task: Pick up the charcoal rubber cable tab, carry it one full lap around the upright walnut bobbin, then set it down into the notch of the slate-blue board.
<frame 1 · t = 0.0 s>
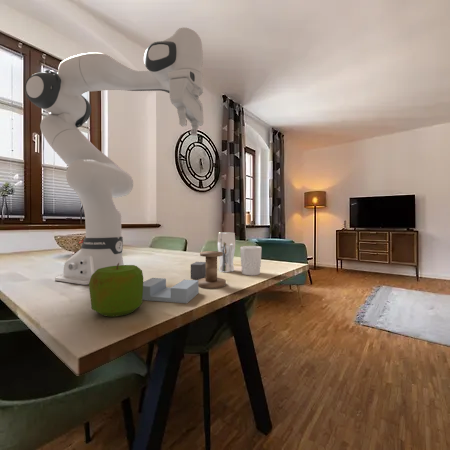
hand: (188, 130, 82), 48 cm above the table, tool pointing down, fingers open, 8 cm apart
white cup: (250, 274, 98), on the table
beer glass: (226, 271, 103), on the table
bobbin: (211, 284, 81), on the table
tab: (199, 277, 92), on the table
apple: (117, 312, 58), on the table
notch board: (168, 295, 69), on the table
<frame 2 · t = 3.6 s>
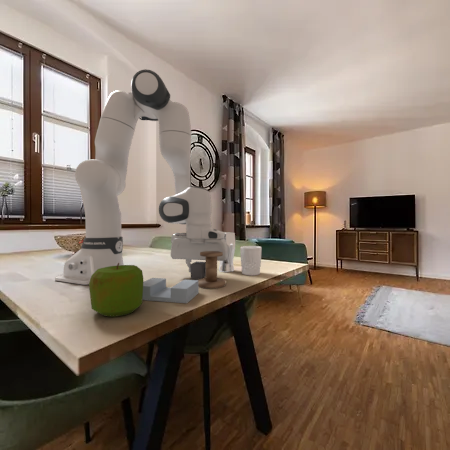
hand: (199, 272, 92), 2 cm above the table, tool pointing down, fingers closed on tab, 4 cm apart
tab: (198, 277, 92), on the table, touching gripper
everything else where it was.
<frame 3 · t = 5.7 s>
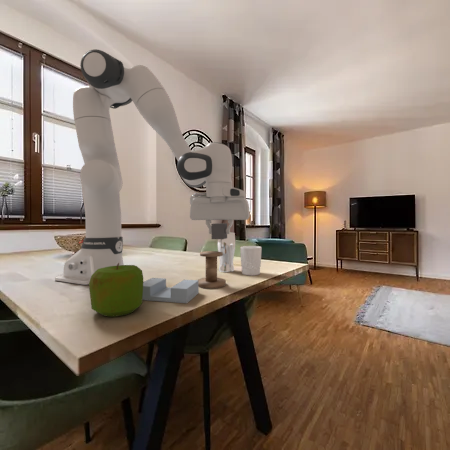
hand: (219, 233, 88), 15 cm above the table, tool pointing down, fingers closed on tab, 4 cm apart
tab: (219, 238, 88), point 14 cm above the table, touching gripper
everything else where it was.
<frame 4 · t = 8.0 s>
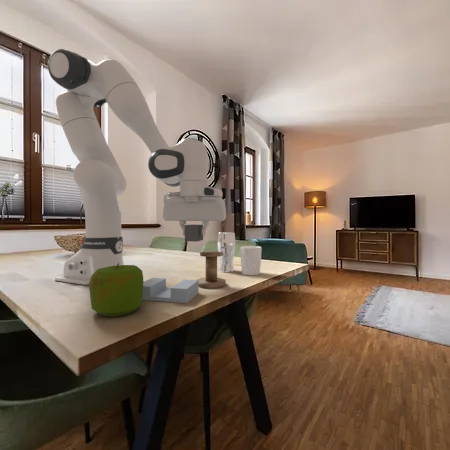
hand: (194, 235, 83), 15 cm above the table, tool pointing down, fingers closed on tab, 4 cm apart
tab: (194, 240, 83), point 14 cm above the table, touching gripper
everything else where it was.
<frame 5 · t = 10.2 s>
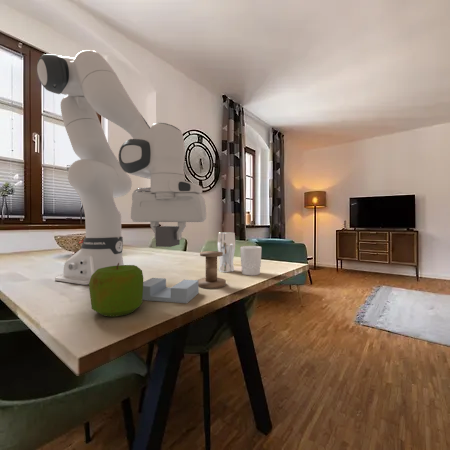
hand: (168, 239, 69), 15 cm above the table, tool pointing down, fingers closed on tab, 4 cm apart
tab: (168, 245, 69), point 13 cm above the table, touching gripper
everything else where it was.
when the fingers open (4 cm above the table, at t = 12.1 s): tab drops 2 cm, resting on notch board.
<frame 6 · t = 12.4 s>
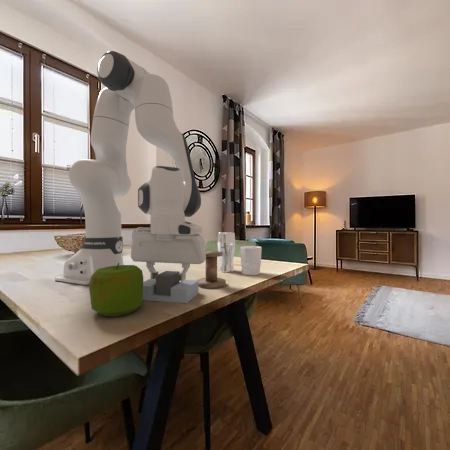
hand: (168, 279, 69), 4 cm above the table, tool pointing down, fingers open, 6 cm apart
tab: (168, 292, 69), point 1 cm above the table, touching notch board
everything else where it was.
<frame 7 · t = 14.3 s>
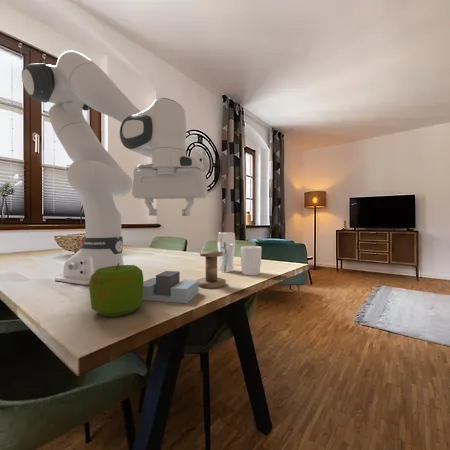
hand: (169, 215, 69), 21 cm above the table, tool pointing down, fingers open, 8 cm apart
nothing on the table moved.
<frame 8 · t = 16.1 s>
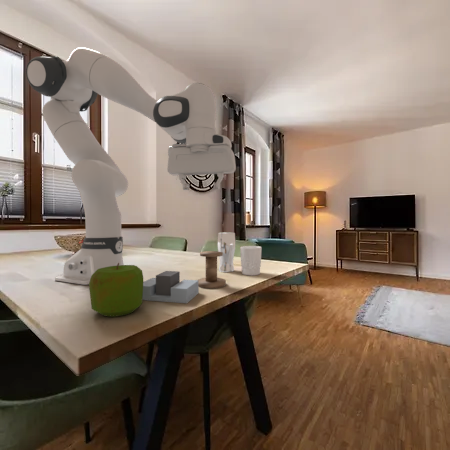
hand: (201, 189, 77), 29 cm above the table, tool pointing down, fingers open, 8 cm apart
nothing on the table moved.
at the end: tab 0.1 cm off-centre on the notch board, point 1.0 cm above the notch board's base; tab tilted 0°; the gripper is holding nothing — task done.
